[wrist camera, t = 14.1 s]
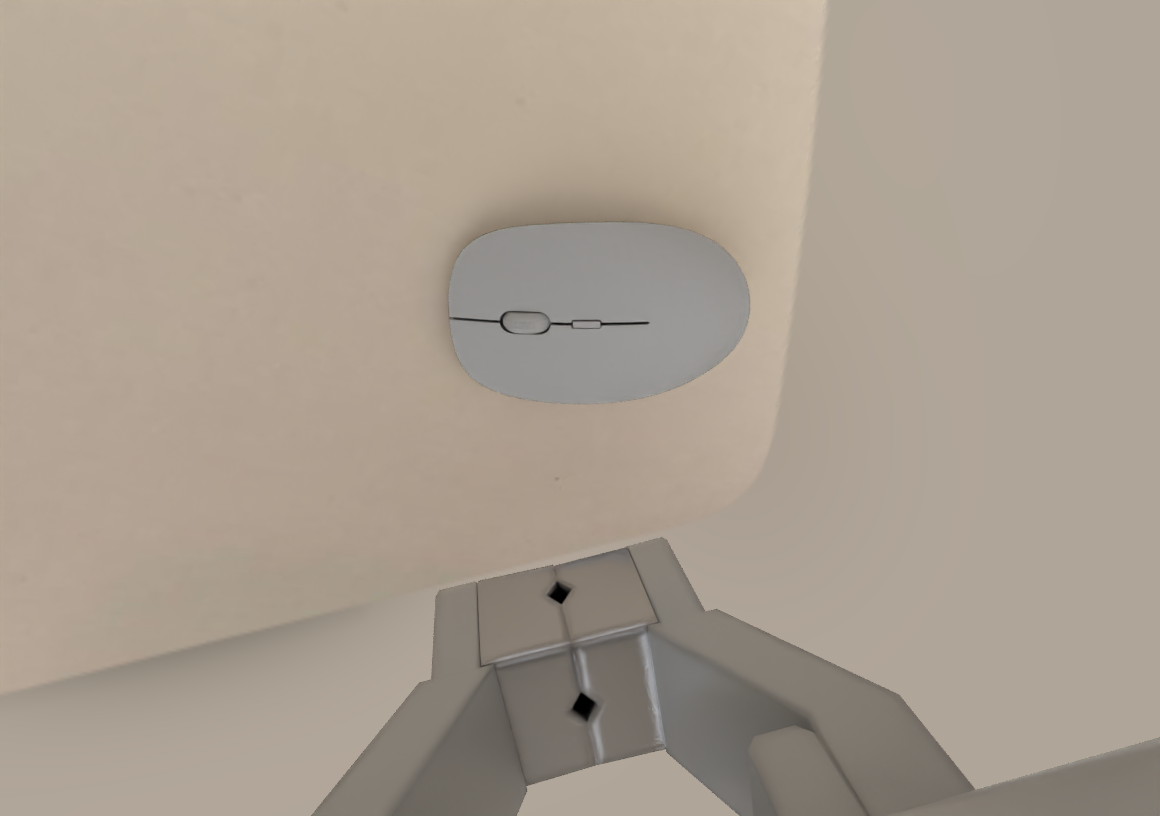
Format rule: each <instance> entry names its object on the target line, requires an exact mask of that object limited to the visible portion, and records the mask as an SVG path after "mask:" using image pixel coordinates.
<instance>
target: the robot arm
mask: <svg viewBox="0 0 1160 816" xmlns="http://www.w3.org/2000/svg"><path fill="white" fill-rule="evenodd" d="M433 639H434V641H433V657H432V676H431V680H428V681H424V682H420V683H419V684H418V685H417V686H416V687H415V689H414V690H413V691H412V692H411V694H410V695H409V696H408V697H407V698H406V700H405V701H404V702H403V703H402V705H401V706H400V707H399V708H398V710H397V711H396V712H395V713H394V714H393V716H392V717H391V718H390V719H389V721H388V722H387V723H386V724H385V726H384V727H383V728H382V729H381V730H380V732H379V733H378V734H377V736H376V737H375V738H374V739H373V740H372V742H371V743H370V744H369V745H368V746H367V748H366V749H365V750H364V751H363V753H362V754H361V755H360V756H359V758H358V759H357V760H356V761H355V762H354V764H353V765H352V766H351V767H350V769H349V770H348V771H347V772H346V774H345V775H344V776H343V777H342V778H341V780H340V781H339V782H338V783H337V785H336V786H335V787H334V788H333V790H332V791H331V792H330V793H329V794H328V796H327V797H326V798H325V799H324V801H323V802H322V803H321V804H320V806H319V807H318V808H317V809H316V810H315V812H314V813H313V814H312V815H311V816H517V813H518V811H519V809H520V806H521V804H522V802H523V799H524V797H525V795H526V792H527V787H526V786H528V785H531V784H535V783H538V782H541V781H545V780H548V779H551V778H555V777H558V776H562V775H565V774H568V773H571V772H575V771H578V770H582V769H585V768H588V767H592V766H595V765H599V764H604V763H608V762H612V761H616V760H621V759H625V758H629V757H634V756H637V755H642V754H646V753H650V752H655V751H659V750H663V749H666V752H667V753H668V754H669V755H670V756H672V757H673V758H674V759H675V760H676V761H677V762H678V763H679V764H681V765H682V766H683V767H684V768H685V769H686V770H688V771H689V772H690V773H691V774H692V775H693V776H694V777H696V778H697V779H698V780H699V781H700V782H701V783H703V784H704V785H705V786H706V787H707V788H708V789H709V790H711V791H712V792H713V793H714V794H715V795H716V796H717V797H719V798H720V799H721V800H722V801H723V802H725V803H726V804H727V805H728V806H729V807H730V808H731V809H732V810H734V811H735V812H736V813H737V814H738V815H739V816H1160V738H1156V739H1153V740H1149V741H1146V742H1142V743H1139V744H1135V745H1132V746H1128V747H1125V748H1121V749H1118V750H1114V751H1111V752H1107V753H1104V754H1100V755H1097V756H1093V757H1089V758H1086V759H1083V760H1079V761H1076V762H1072V763H1068V764H1065V765H1062V766H1058V767H1054V768H1051V769H1047V770H1044V771H1041V772H1037V773H1033V774H1030V775H1026V776H1023V777H1019V778H1016V779H1012V780H1009V781H1005V782H1002V783H998V784H995V785H991V786H988V787H984V788H981V789H977V790H975V788H974V787H973V786H972V785H971V783H970V782H969V781H968V780H967V778H966V777H965V776H964V775H963V773H962V772H961V771H960V770H959V769H958V767H957V766H956V765H955V763H954V762H953V761H952V760H951V758H950V757H949V756H948V755H947V754H946V752H945V751H944V750H943V749H942V747H941V746H940V745H939V744H938V742H937V741H936V740H935V739H934V737H933V736H932V735H931V734H930V732H929V731H928V730H927V729H926V727H925V726H924V725H923V724H922V722H921V721H920V720H919V719H918V717H917V716H916V715H915V714H914V712H913V711H912V710H911V709H910V707H909V706H908V705H907V704H906V702H905V701H904V700H903V699H902V698H901V696H900V695H899V694H896V693H894V692H892V691H890V690H888V689H886V688H884V687H881V686H879V685H877V684H875V683H873V682H871V681H869V680H867V679H864V678H862V677H860V676H858V675H856V674H853V673H852V672H849V671H847V670H845V669H843V668H841V667H839V666H837V665H835V664H833V663H831V662H828V661H826V660H824V659H822V658H820V657H818V656H815V655H813V654H811V653H809V652H807V651H805V650H803V649H801V648H799V647H796V646H794V645H792V644H790V643H788V642H786V641H784V640H781V639H779V638H777V637H775V636H773V635H771V634H769V633H767V632H765V631H762V630H760V629H758V628H756V627H754V626H752V625H750V624H747V623H745V622H743V621H741V620H739V619H737V618H735V617H733V616H730V615H728V614H726V613H724V612H722V611H720V610H717V609H714V610H711V611H706V612H705V610H704V608H703V606H702V605H701V603H700V601H699V599H698V597H697V595H696V593H695V592H694V590H693V588H692V586H691V584H690V582H689V580H688V578H687V577H686V575H685V573H684V571H683V569H682V568H681V565H680V564H679V562H678V560H677V558H676V556H675V554H674V553H673V551H672V549H671V547H670V545H669V543H668V541H667V540H666V539H664V538H663V537H660V538H656V539H653V540H649V541H645V542H642V543H638V544H634V545H631V546H627V547H626V548H622V549H618V550H614V551H610V552H606V553H602V554H599V555H595V556H591V557H587V558H583V559H579V560H575V561H571V562H567V563H563V564H559V565H555V566H553V565H550V566H546V567H542V568H536V569H532V570H527V571H523V572H518V573H513V574H508V575H504V576H500V577H494V578H490V579H485V580H480V581H478V583H477V582H471V583H467V584H462V585H458V586H454V587H450V588H446V589H442V590H439V592H438V594H437V595H436V600H435V619H434V638H433ZM594 756H595V757H594ZM595 761H596V762H595Z"/></svg>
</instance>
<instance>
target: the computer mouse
mask: <svg viewBox="0 0 1160 816" xmlns="http://www.w3.org/2000/svg"><path fill="white" fill-rule="evenodd" d="M448 304H449V322H450V330H451V336H452V341H453V345H454V348H455V351H456V354H457V357H458V359H459V361H460V363H461V365H462V367H463V368H464V370H465V371H466V372H467V373H468V375H469V376H470V377H471V378H473V379H474V380H475V381H476V382H478V383H479V384H481V385H482V386H484V387H486V388H488V389H491V390H493V391H495V392H498V393H501V394H504V395H508V396H512V397H516V398H520V399H526V400H532V401H540V402H548V403H561V404H599V403H614V402H622V401H630V400H635V399H640V398H645V397H649V396H652V395H656V394H659V393H662V392H665V391H668V390H671V389H674V388H676V387H679V386H681V385H683V384H685V383H688V382H690V381H692V380H694V379H696V378H697V377H699V376H701V375H703V374H704V373H706V372H707V371H709V370H710V369H712V368H713V367H714V366H716V365H717V364H718V363H720V362H721V361H722V360H723V359H724V358H725V357H726V356H727V355H728V354H729V353H730V352H731V351H732V350H733V349H734V348H735V346H736V345H737V344H738V342H739V341H740V339H741V337H742V336H743V333H744V331H745V329H746V326H747V323H748V318H749V312H750V295H749V289H748V285H747V282H746V279H745V277H744V274H743V272H742V270H741V268H740V267H739V265H738V264H737V262H736V261H735V260H734V258H733V257H732V256H731V255H730V254H729V253H728V252H727V251H726V250H725V249H724V248H722V247H721V246H720V245H718V244H717V243H715V242H714V241H712V240H710V239H709V238H707V237H705V236H703V235H700V234H698V233H695V232H692V231H689V230H686V229H683V228H678V227H674V226H669V225H661V224H653V223H639V222H583V223H557V224H538V225H525V226H516V227H509V228H504V229H500V230H496V231H492V232H489V233H487V234H484V235H482V236H480V237H478V238H477V239H475V240H473V241H472V242H471V243H469V244H468V245H467V246H466V247H465V248H464V249H463V251H462V252H461V253H460V255H459V256H458V258H457V260H456V262H455V265H454V267H453V270H452V274H451V279H450V285H449V298H448Z"/></svg>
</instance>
